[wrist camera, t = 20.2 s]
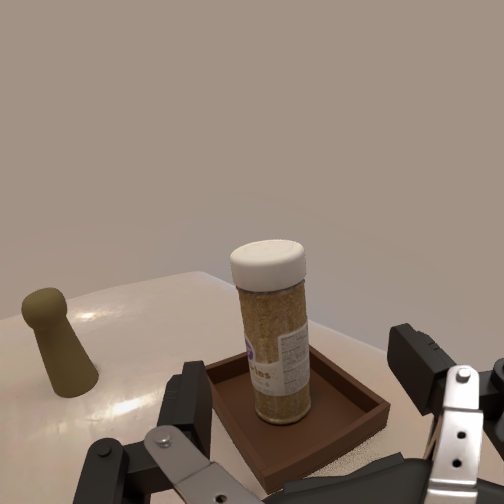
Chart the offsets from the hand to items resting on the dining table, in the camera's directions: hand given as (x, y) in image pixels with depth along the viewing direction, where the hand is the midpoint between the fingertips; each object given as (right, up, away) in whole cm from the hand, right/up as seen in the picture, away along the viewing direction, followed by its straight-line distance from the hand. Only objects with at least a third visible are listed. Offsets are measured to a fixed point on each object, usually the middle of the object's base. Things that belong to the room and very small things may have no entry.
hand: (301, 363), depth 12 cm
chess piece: (-22, -10, +16) cm, 29 cm away
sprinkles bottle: (+1, -8, +11) cm, 13 cm away
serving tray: (+1, -8, +11) cm, 14 cm away
